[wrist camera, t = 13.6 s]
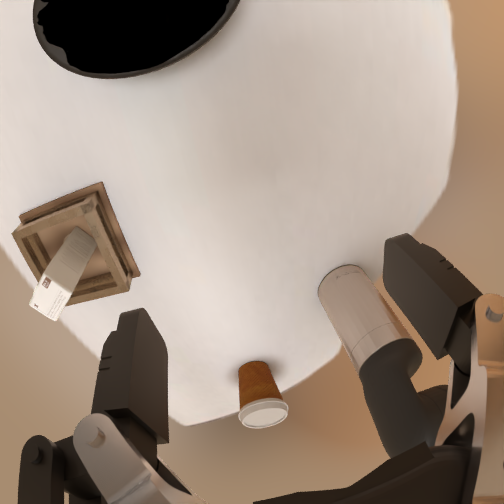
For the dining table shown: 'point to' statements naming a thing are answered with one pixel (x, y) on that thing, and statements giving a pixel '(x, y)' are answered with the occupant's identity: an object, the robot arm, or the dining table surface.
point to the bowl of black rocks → (126, 33)
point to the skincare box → (63, 274)
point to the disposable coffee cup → (259, 397)
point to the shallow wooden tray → (102, 233)
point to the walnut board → (61, 231)
